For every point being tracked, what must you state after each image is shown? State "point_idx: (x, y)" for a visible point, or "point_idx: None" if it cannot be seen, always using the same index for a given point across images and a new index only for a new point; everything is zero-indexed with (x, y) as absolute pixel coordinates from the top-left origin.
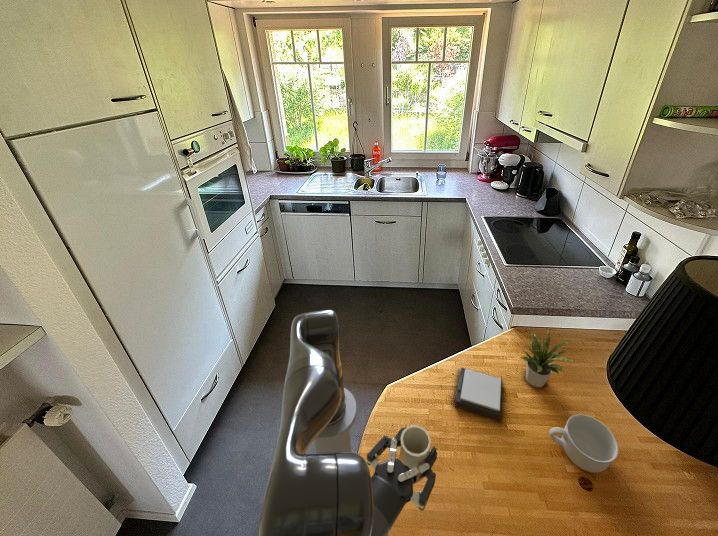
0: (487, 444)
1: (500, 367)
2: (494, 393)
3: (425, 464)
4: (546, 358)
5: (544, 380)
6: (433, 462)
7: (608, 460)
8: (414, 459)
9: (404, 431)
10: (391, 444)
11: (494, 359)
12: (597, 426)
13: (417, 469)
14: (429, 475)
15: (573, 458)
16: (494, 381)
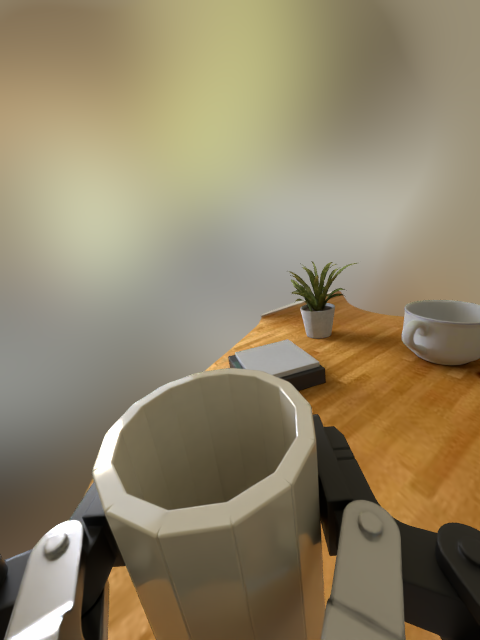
0: (344, 418)
1: (274, 342)
2: (294, 352)
3: (355, 519)
4: (321, 288)
5: (332, 319)
6: (361, 480)
7: None
8: (268, 549)
9: (120, 426)
10: (25, 591)
11: (262, 340)
12: (430, 309)
13: (361, 630)
14: (468, 582)
15: (456, 350)
16: (283, 344)
